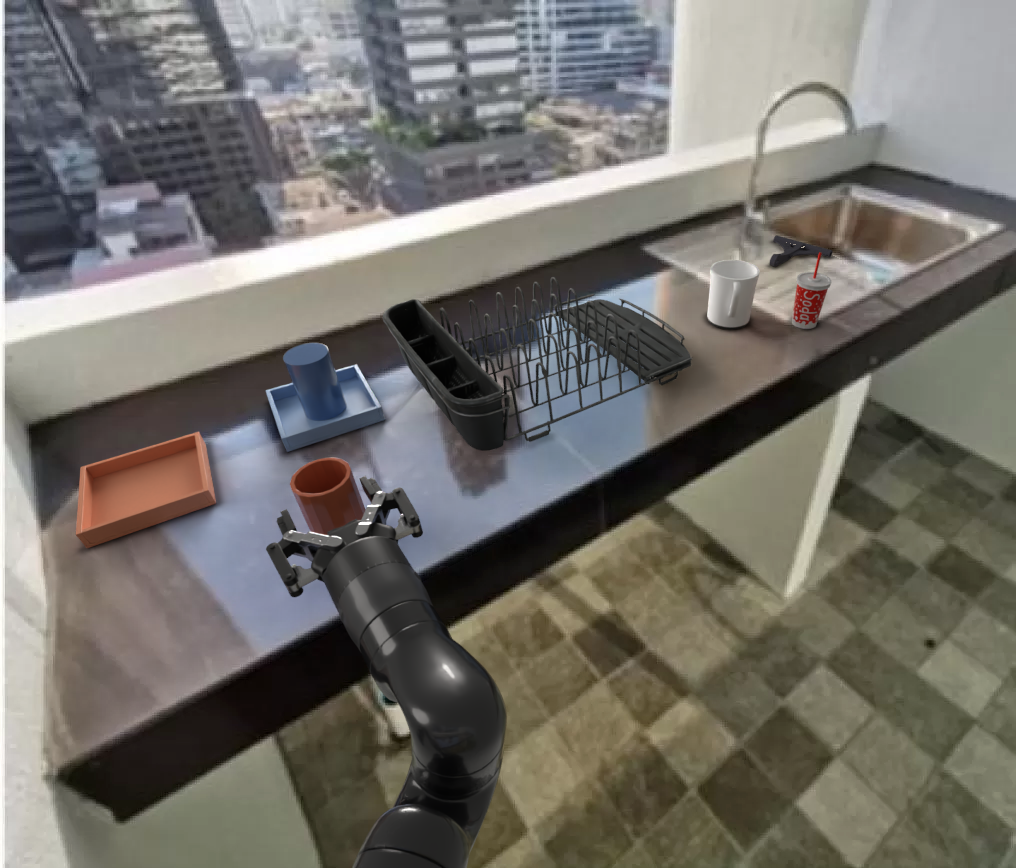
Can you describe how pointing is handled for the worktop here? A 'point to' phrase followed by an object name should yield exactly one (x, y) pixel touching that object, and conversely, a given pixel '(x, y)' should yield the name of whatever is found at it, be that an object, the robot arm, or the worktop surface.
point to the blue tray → (306, 431)
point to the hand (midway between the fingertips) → (326, 498)
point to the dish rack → (479, 397)
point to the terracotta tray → (143, 489)
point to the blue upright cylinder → (315, 381)
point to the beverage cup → (809, 297)
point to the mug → (731, 293)
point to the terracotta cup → (327, 494)
